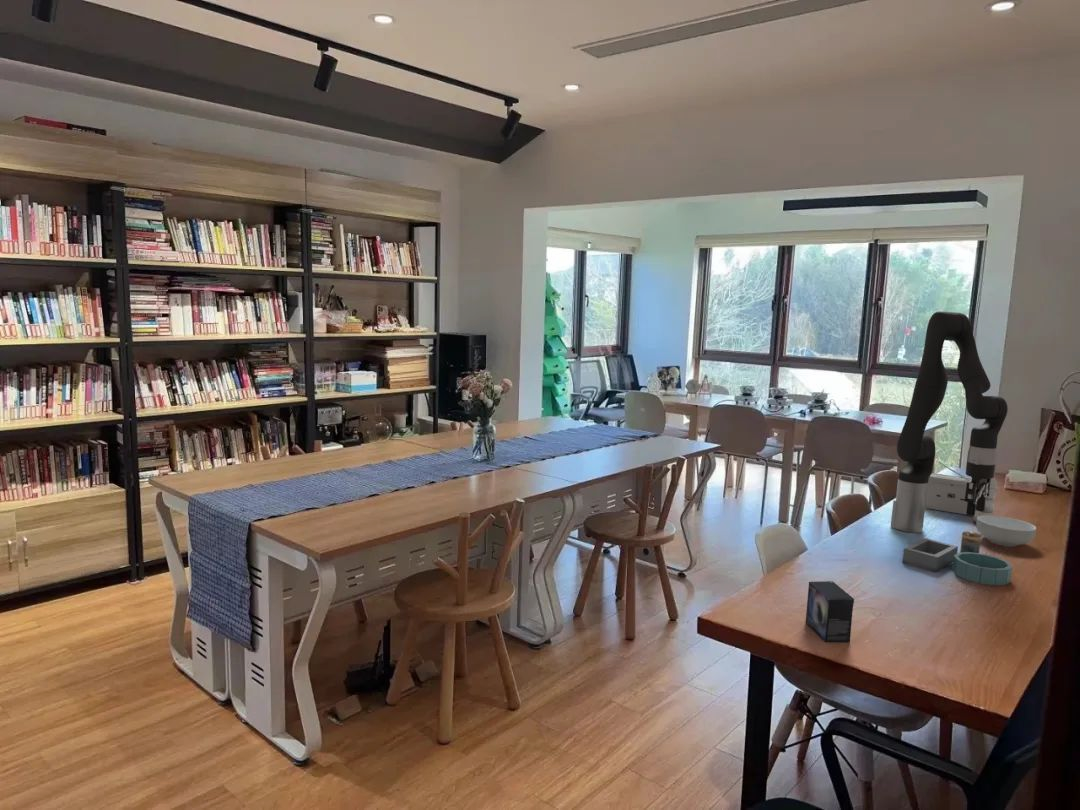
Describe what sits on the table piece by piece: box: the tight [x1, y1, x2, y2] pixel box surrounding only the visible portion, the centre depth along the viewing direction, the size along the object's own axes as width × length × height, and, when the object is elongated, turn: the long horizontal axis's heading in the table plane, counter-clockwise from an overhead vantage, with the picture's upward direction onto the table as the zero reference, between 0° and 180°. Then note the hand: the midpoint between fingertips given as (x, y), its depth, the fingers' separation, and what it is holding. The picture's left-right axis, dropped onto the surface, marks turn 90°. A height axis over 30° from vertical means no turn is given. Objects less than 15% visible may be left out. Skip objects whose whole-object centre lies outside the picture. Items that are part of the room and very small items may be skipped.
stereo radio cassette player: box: [925, 459, 972, 516], centre depth 279 cm, size 21×8×20 cm, turn 58°
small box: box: [805, 580, 855, 643], centre depth 171 cm, size 11×6×10 cm, turn 5°
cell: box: [959, 530, 982, 553], centre depth 228 cm, size 5×5×8 cm
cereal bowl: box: [975, 515, 1037, 548], centre depth 244 cm, size 17×17×7 cm
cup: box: [951, 552, 1013, 586], centre depth 212 cm, size 14×14×4 cm
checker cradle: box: [902, 537, 959, 573], centre depth 222 cm, size 10×16×4 cm, turn 132°
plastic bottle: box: [972, 472, 999, 523], centre depth 263 cm, size 6×7×20 cm
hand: (975, 513), depth 226 cm, fingers open, 8 cm apart
